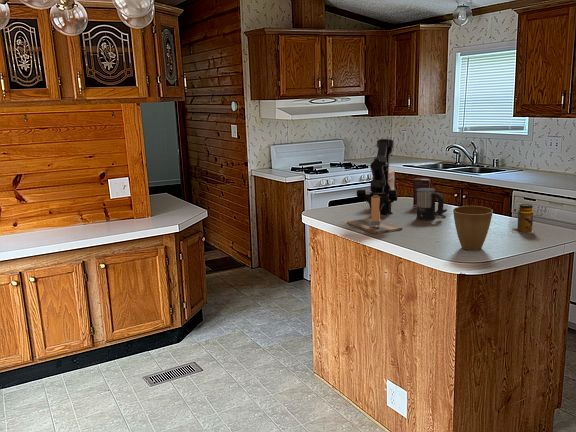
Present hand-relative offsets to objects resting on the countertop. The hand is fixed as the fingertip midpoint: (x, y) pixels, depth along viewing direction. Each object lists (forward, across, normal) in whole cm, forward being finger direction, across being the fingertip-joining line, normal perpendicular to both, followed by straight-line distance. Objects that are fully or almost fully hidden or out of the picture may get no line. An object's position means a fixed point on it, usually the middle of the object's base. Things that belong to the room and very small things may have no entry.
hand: (375, 210), depth 249 cm
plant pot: (+24, +42, -11) cm, 50 cm away
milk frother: (-14, +24, +28) cm, 39 cm away
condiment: (+3, +64, +11) cm, 65 cm away
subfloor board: (+2, -2, +11) cm, 12 cm away
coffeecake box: (-32, -2, +46) cm, 56 cm away
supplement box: (-29, +19, +43) cm, 55 cm away
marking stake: (+4, 0, +6) cm, 7 cm away
